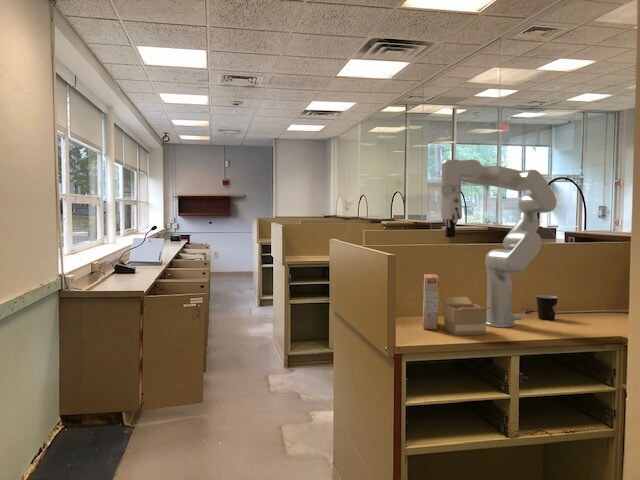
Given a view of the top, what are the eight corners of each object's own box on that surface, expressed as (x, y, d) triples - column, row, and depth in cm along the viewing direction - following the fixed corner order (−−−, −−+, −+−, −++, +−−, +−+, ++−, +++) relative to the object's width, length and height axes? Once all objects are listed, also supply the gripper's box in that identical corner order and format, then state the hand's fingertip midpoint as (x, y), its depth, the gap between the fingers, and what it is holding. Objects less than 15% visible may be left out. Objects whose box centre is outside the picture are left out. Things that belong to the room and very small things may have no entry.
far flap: (472, 303, 197) (471, 304, 197) (467, 296, 201) (467, 298, 202) (445, 304, 196) (445, 305, 196) (441, 297, 200) (441, 298, 200)
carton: (474, 328, 197) (474, 303, 197) (487, 335, 186) (487, 308, 186) (443, 329, 196) (443, 304, 195) (454, 335, 185) (454, 309, 184)
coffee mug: (544, 321, 211) (545, 298, 211) (531, 317, 219) (532, 295, 219) (567, 320, 214) (568, 297, 213) (553, 316, 222) (554, 294, 222)
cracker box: (438, 330, 194) (439, 277, 193) (423, 329, 195) (423, 277, 194) (437, 323, 207) (438, 273, 206) (422, 322, 209) (423, 273, 208)
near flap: (457, 309, 184) (457, 311, 184) (462, 307, 180) (462, 308, 179) (485, 308, 186) (485, 310, 185) (491, 306, 181) (491, 308, 181)
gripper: (468, 190, 188) (467, 238, 189) (451, 192, 203) (451, 236, 204) (449, 190, 187) (449, 238, 188) (434, 192, 201) (434, 236, 202)
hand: (450, 237), depth 196 cm, fingers closed
